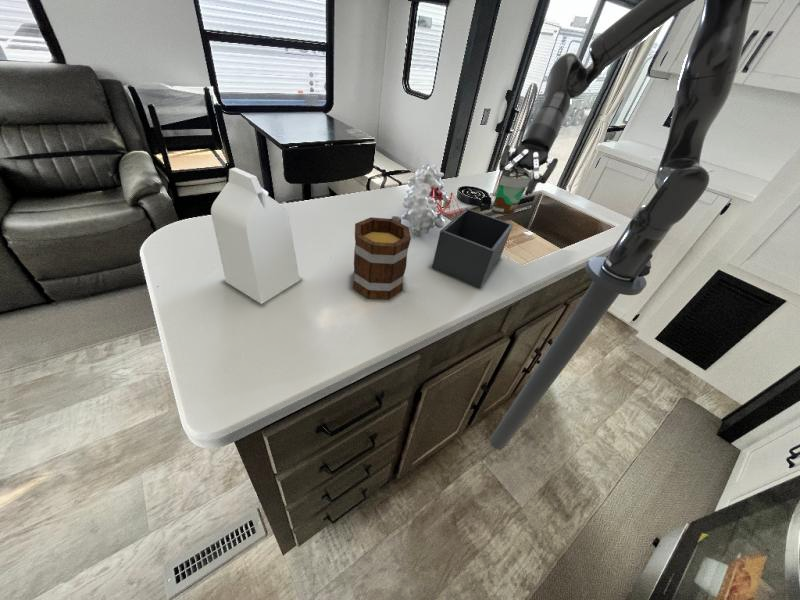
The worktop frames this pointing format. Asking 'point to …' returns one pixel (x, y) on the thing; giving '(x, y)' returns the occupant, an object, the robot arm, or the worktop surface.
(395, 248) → the mug
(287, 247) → the milk
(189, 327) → the worktop surface
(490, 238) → the bin
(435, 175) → the protein dna model
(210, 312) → the worktop surface
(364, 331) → the worktop surface
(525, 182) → the food container
